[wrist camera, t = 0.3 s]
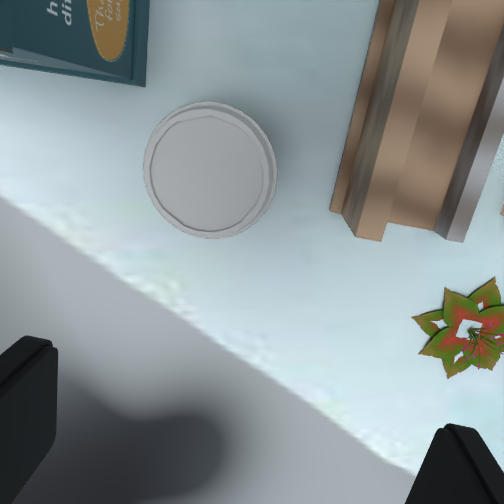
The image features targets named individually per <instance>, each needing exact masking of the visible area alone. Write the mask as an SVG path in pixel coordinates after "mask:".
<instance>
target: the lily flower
mask: <svg viewBox="0 0 504 504" xmlns="http://www.w3.org/2000/svg"><path fill="white" fill-rule="evenodd" d="M494 283H496V281H495V278H493V279H492V281H490V282H488V283H487V284H486V285H485V286H484V287H481V288H480V289H478V290H477V291H476V292H474V293H473V294H472V295H471V296H470V297H469V298H466V297H464V296H462V295H459V294H457V293H453V292H450V290H448V289H447V288H445V300H446V301H445V302H444V310H439V311H435V312H430V313H427V314H423V315H421V316H419V317H418V316H416V317H412V318H413V319H414V320H415V321H416V322H417V323H418V325H421V328H422V330H423V331H424V332H425V333H426V334H428V335H429V336H431V337H433V339H432V340H431V341H430V342H429V343H428V345H427V346H426V347H425V348H424V350H423V351H421V352H420V353H419V354H423V355H427V356H431V355H432V356H433V357H436V358H441V359H443V364H444V368H445V370H446V372H447V373H448V375H447V377H448V379H449V378H450V377H451V376H453V375H456V374H457V372H462V371H464V370H465V369H467V368H468V367H469V366H470V365H471V364H473V365H474V366H476V367H478V369H479V368H484V369H486V368H489V370H491V371H492V370H493V367H494V366H495V364H496V363H495V362H497V361H498V360H499V358H500V353H501V352H504V306H500V304H501V296H500V292H499V290H498V287H497V286H496V284H494ZM482 301H483V307H484V310H483V311H482V312H480V313H479V308H478V306H477V304H479V303H481V302H482ZM441 319H444V321H445V323H446V324H447V325H448V326H449V327H448V328H446V329H444V330H441V329H439V328H438V326H437V324H435V323H433V322H431V321H439V320H441ZM463 319H466V320H472V321H477V322H480V323H482V327H481V328H470V329H469V330H468V333H469V335H470V336H469V337H468V338H470V340H467V338H459V337H456V333H457V331H458V328H459V325H460V324H461V322H462V320H463ZM478 330H480V331H478ZM475 331H477V332H480V333H478V334H477V333H475ZM471 333H472V334H473V336H472V334H471ZM499 335H500V336H501V337H500V338H497V339H494V338H495V336H499ZM492 336H493V337H492ZM473 337H474V338H473ZM472 339H473V340H472ZM462 349H463V350H462ZM461 351H463V352H464V356H462V357H459V359H458V360H457V361H456V362H455V364H454V358H455V356H456V355H457V354H459V353H460V352H461ZM501 354H503V353H501Z"/></svg>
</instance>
